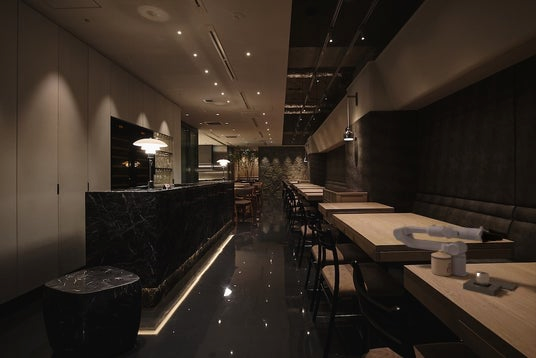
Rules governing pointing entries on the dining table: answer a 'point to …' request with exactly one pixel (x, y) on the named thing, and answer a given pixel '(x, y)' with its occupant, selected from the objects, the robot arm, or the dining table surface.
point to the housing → (482, 287)
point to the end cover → (482, 279)
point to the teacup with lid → (441, 263)
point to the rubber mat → (505, 285)
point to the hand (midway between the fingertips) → (505, 237)
